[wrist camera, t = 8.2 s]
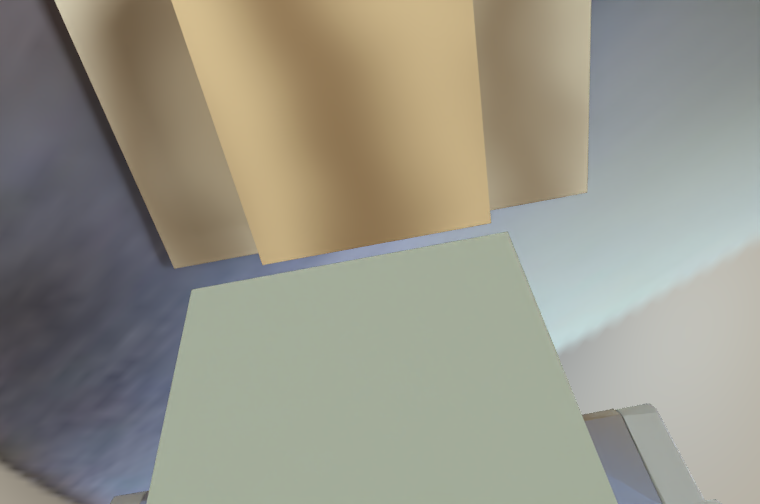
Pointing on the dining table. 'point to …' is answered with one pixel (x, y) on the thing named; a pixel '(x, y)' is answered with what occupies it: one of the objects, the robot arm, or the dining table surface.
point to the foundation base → (195, 156)
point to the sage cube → (376, 389)
